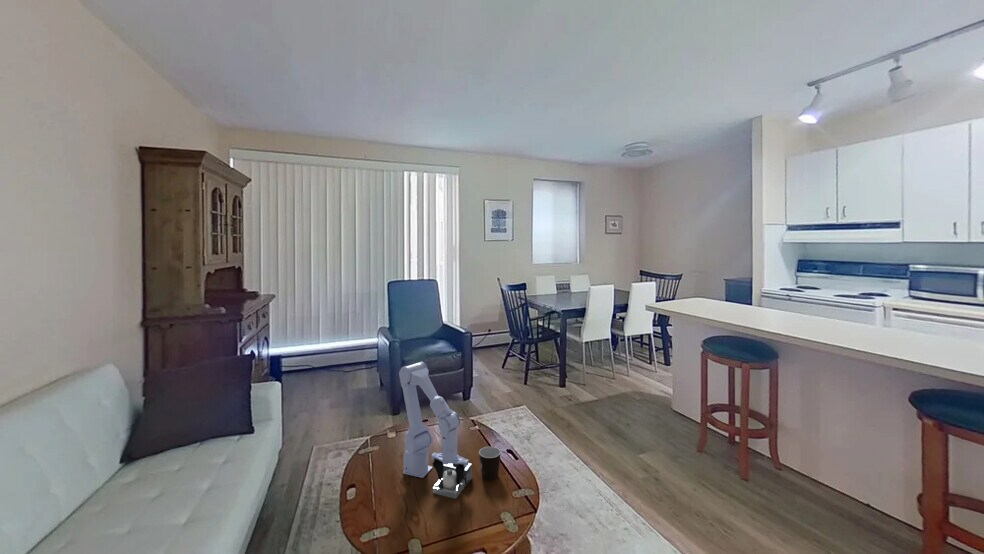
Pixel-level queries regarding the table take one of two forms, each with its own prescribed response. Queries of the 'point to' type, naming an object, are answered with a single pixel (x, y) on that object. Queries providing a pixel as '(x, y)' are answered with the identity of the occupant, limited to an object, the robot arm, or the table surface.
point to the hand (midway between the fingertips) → (450, 480)
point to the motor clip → (465, 480)
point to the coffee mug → (489, 462)
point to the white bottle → (449, 480)
